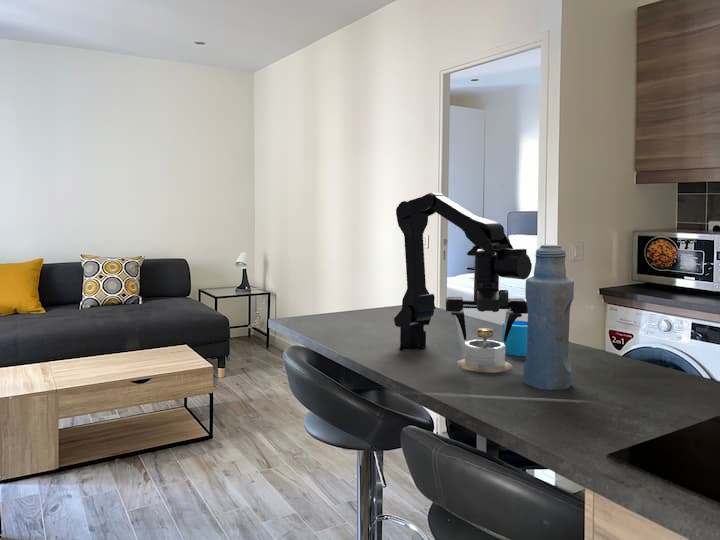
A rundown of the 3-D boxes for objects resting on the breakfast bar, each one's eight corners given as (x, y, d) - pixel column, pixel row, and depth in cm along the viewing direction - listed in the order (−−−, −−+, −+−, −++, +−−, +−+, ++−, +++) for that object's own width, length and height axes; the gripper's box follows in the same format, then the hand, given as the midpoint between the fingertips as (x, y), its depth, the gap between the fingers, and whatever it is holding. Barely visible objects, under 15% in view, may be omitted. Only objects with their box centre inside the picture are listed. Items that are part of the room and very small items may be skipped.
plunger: (472, 362, 132) (473, 331, 131) (470, 356, 138) (471, 326, 137) (498, 363, 131) (499, 332, 130) (495, 357, 137) (496, 327, 136)
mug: (539, 357, 144) (541, 325, 143) (510, 358, 142) (511, 326, 142) (517, 346, 156) (518, 317, 155) (489, 347, 154) (490, 318, 153)
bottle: (565, 395, 113) (571, 247, 110) (516, 387, 119) (521, 245, 116) (575, 383, 121) (581, 244, 118) (529, 376, 127) (533, 243, 124)
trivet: (457, 373, 129) (457, 370, 129) (455, 358, 142) (455, 356, 142) (515, 375, 127) (515, 373, 127) (508, 360, 140) (508, 358, 140)
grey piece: (465, 369, 131) (466, 347, 130) (463, 355, 143) (463, 336, 142) (506, 370, 129) (506, 349, 129) (500, 357, 141) (501, 337, 141)
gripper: (446, 278, 126) (445, 347, 127) (533, 280, 123) (530, 350, 125) (446, 273, 137) (445, 336, 138) (525, 275, 134) (523, 339, 136)
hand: (484, 340), depth 134 cm, fingers open, 9 cm apart
